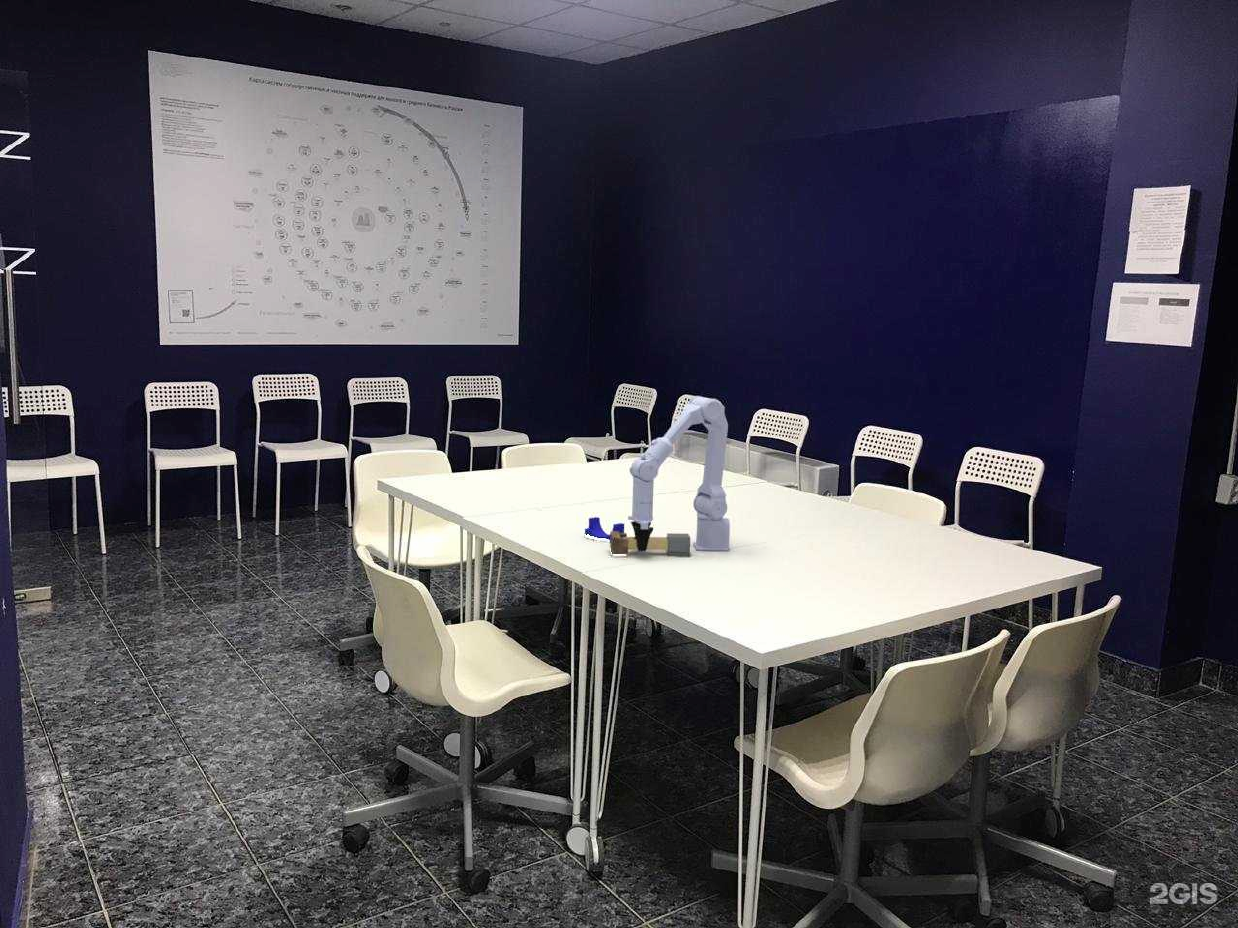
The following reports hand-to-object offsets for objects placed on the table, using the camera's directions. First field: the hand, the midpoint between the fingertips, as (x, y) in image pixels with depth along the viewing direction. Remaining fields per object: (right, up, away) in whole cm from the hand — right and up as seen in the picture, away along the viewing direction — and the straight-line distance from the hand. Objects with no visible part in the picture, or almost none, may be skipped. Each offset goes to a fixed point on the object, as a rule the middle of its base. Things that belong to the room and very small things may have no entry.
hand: (641, 548), depth 281 cm
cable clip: (-11, +1, +15) cm, 18 cm away
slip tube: (+1, 0, 0) cm, 1 cm away
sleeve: (+10, -2, +1) cm, 11 cm away
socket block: (-6, -1, 0) cm, 6 cm away
